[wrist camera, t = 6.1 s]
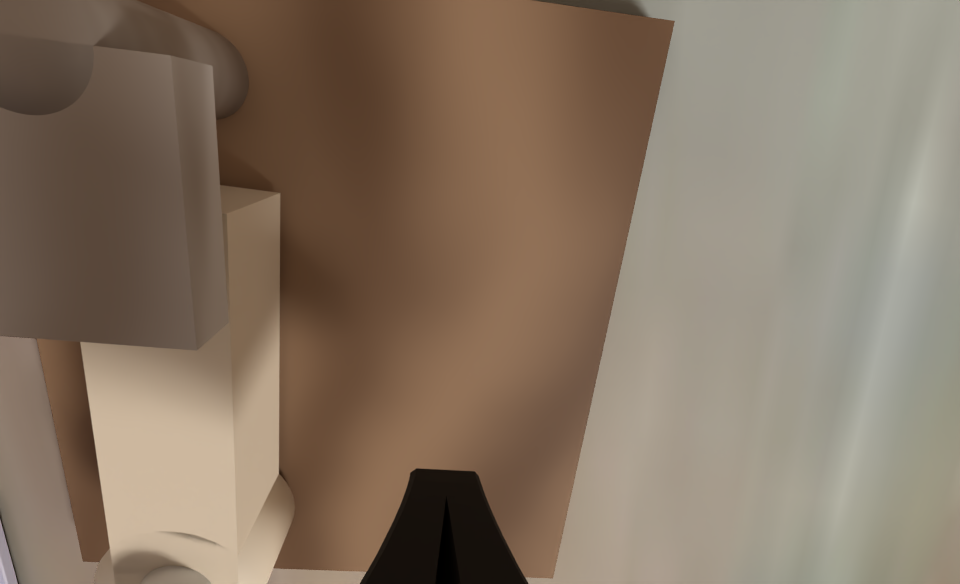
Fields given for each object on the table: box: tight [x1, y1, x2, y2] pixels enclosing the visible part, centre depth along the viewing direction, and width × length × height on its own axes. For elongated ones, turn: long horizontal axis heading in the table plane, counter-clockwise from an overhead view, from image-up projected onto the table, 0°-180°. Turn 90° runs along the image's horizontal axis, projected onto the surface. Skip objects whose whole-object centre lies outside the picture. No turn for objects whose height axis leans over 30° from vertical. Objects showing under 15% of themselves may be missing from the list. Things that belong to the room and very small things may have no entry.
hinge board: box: [0, 0, 675, 578], centre depth 12 cm, size 16×18×6 cm
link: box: [80, 185, 295, 584], centre depth 12 cm, size 12×4×4 cm, turn 172°
